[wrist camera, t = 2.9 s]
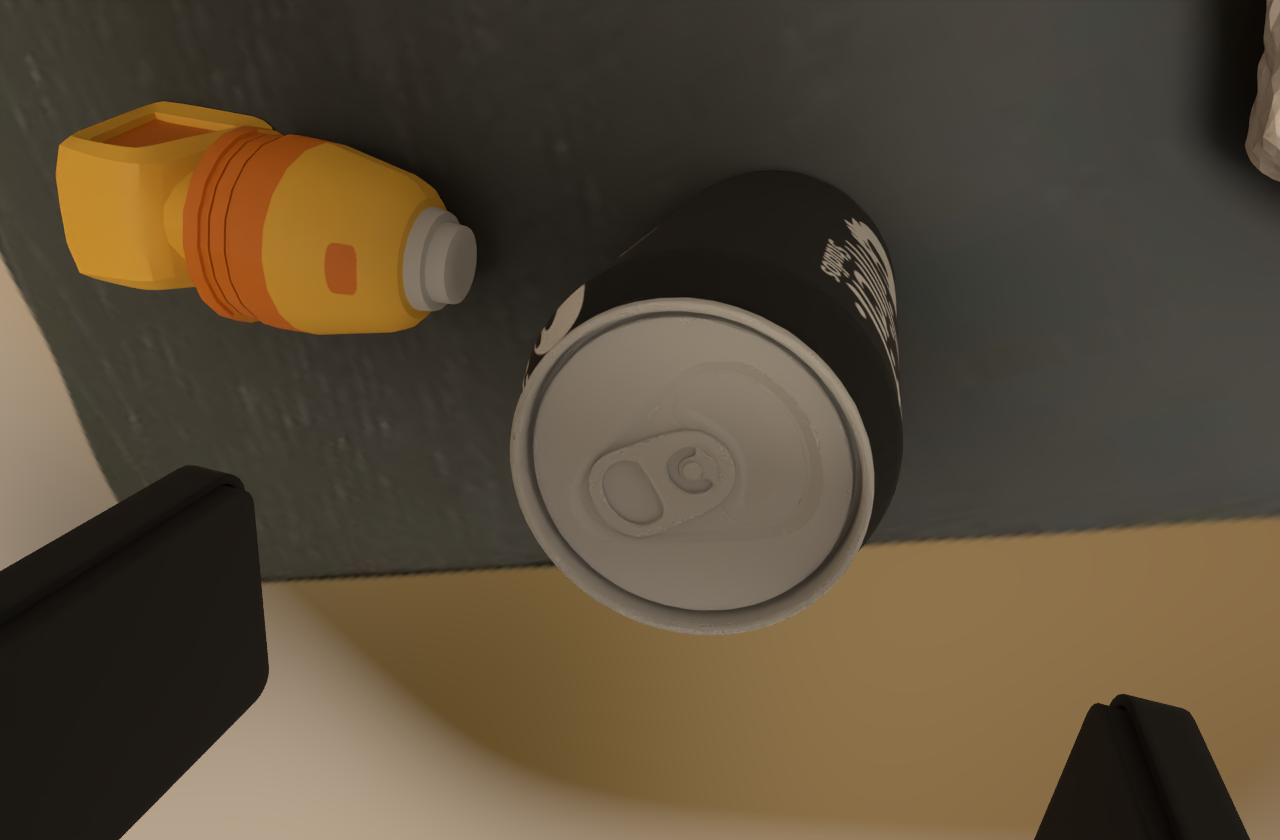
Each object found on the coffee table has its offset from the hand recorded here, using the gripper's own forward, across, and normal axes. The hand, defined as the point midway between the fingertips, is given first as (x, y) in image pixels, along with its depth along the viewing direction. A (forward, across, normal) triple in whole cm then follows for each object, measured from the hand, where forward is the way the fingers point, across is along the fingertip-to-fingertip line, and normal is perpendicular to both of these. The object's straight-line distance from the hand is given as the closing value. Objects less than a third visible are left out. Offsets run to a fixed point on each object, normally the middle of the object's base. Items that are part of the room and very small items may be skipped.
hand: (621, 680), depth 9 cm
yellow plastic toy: (+16, +14, 0) cm, 22 cm away
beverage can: (+16, 0, 0) cm, 17 cm away
